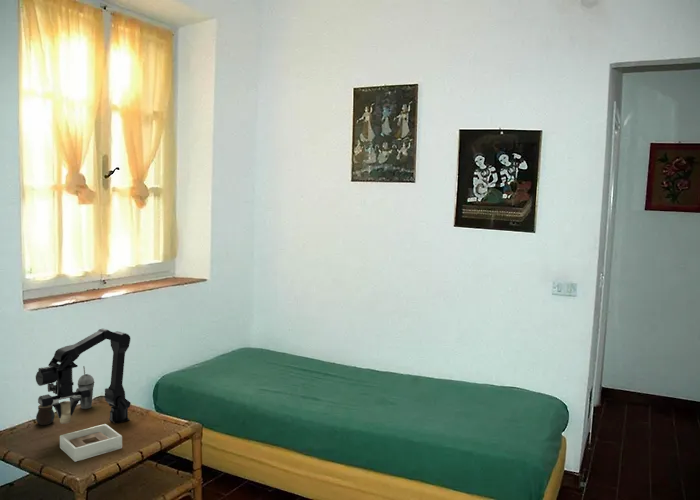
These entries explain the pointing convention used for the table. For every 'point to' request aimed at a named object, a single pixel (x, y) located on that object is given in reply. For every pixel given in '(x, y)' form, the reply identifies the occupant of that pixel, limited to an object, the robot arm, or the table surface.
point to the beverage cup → (87, 382)
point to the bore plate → (88, 439)
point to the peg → (65, 412)
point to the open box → (90, 449)
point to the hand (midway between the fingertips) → (65, 416)
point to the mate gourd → (45, 415)
